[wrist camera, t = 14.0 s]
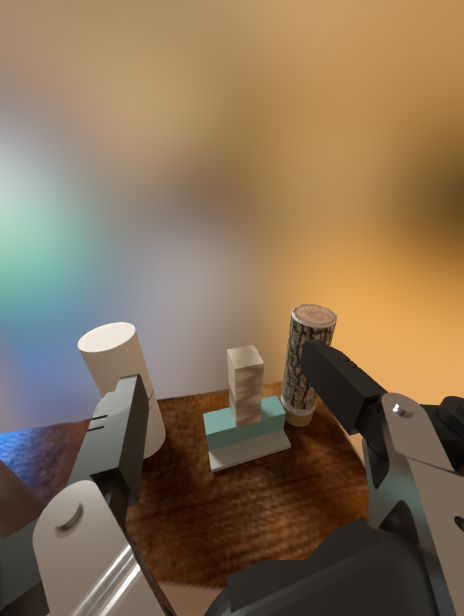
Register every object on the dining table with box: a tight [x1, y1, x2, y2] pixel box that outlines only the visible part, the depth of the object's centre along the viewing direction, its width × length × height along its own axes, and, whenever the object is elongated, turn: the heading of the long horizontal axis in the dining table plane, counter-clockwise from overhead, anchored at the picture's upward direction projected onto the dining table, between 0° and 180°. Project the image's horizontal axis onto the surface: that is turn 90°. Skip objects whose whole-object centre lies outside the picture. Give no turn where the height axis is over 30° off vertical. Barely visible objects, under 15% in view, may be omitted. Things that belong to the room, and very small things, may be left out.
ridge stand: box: [203, 396, 291, 473], centre depth 39 cm, size 15×10×6 cm, turn 105°
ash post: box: [227, 345, 264, 429], centre depth 35 cm, size 4×4×14 cm
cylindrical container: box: [78, 322, 166, 459], centre depth 34 cm, size 7×7×25 cm
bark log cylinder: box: [281, 304, 337, 427], centre depth 38 cm, size 7×7×25 cm
